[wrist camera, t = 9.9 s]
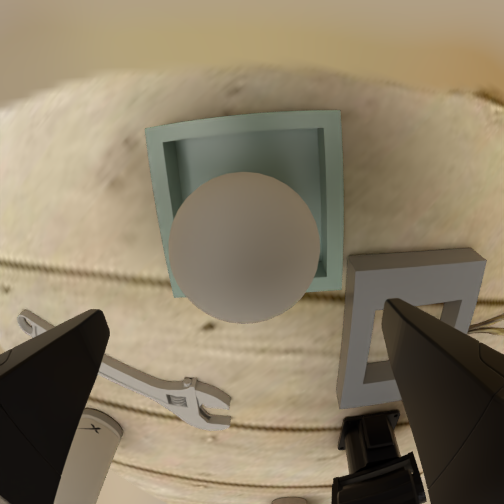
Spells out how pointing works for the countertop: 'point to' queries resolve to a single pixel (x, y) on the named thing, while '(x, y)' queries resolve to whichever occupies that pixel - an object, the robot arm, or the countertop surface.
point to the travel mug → (88, 458)
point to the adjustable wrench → (155, 385)
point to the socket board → (409, 290)
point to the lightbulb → (244, 247)
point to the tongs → (487, 330)
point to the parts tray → (256, 170)
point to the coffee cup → (289, 500)
